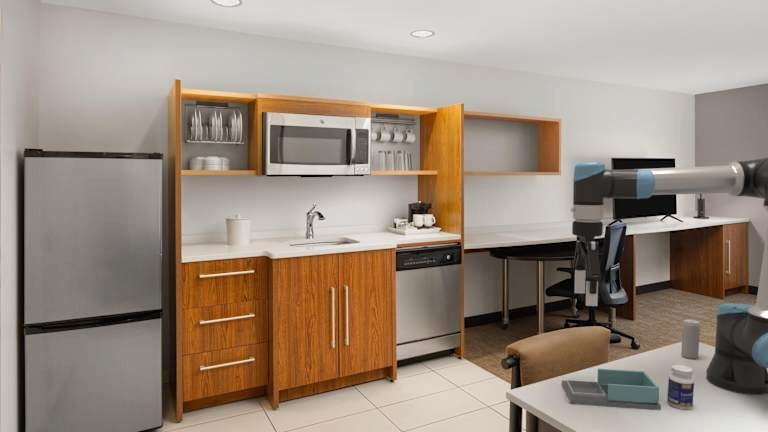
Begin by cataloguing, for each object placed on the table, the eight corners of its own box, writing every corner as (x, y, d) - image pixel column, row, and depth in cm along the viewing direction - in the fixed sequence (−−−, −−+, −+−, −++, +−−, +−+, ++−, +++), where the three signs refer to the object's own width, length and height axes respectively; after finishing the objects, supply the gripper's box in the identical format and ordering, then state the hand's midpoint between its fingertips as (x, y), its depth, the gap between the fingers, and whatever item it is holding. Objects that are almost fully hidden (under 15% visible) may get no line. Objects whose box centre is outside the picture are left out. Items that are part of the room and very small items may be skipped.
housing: (643, 385, 139) (644, 371, 138) (658, 403, 128) (659, 388, 128) (597, 382, 141) (597, 368, 140) (608, 399, 130) (608, 384, 130)
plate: (644, 390, 139) (644, 382, 139) (660, 410, 128) (661, 401, 127) (561, 384, 143) (561, 376, 143) (570, 403, 131) (570, 395, 131)
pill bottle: (683, 411, 127) (686, 373, 126) (662, 402, 132) (664, 365, 131) (697, 407, 129) (699, 369, 128) (675, 398, 134) (677, 362, 133)
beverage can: (684, 359, 163) (686, 323, 162) (678, 353, 167) (680, 318, 166) (700, 360, 162) (703, 323, 161) (694, 354, 166) (696, 319, 165)
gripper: (563, 216, 146) (562, 288, 148) (583, 225, 122) (581, 311, 123) (590, 216, 145) (588, 288, 147) (616, 225, 120) (613, 312, 122)
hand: (585, 299), depth 135 cm, fingers open, 13 cm apart
